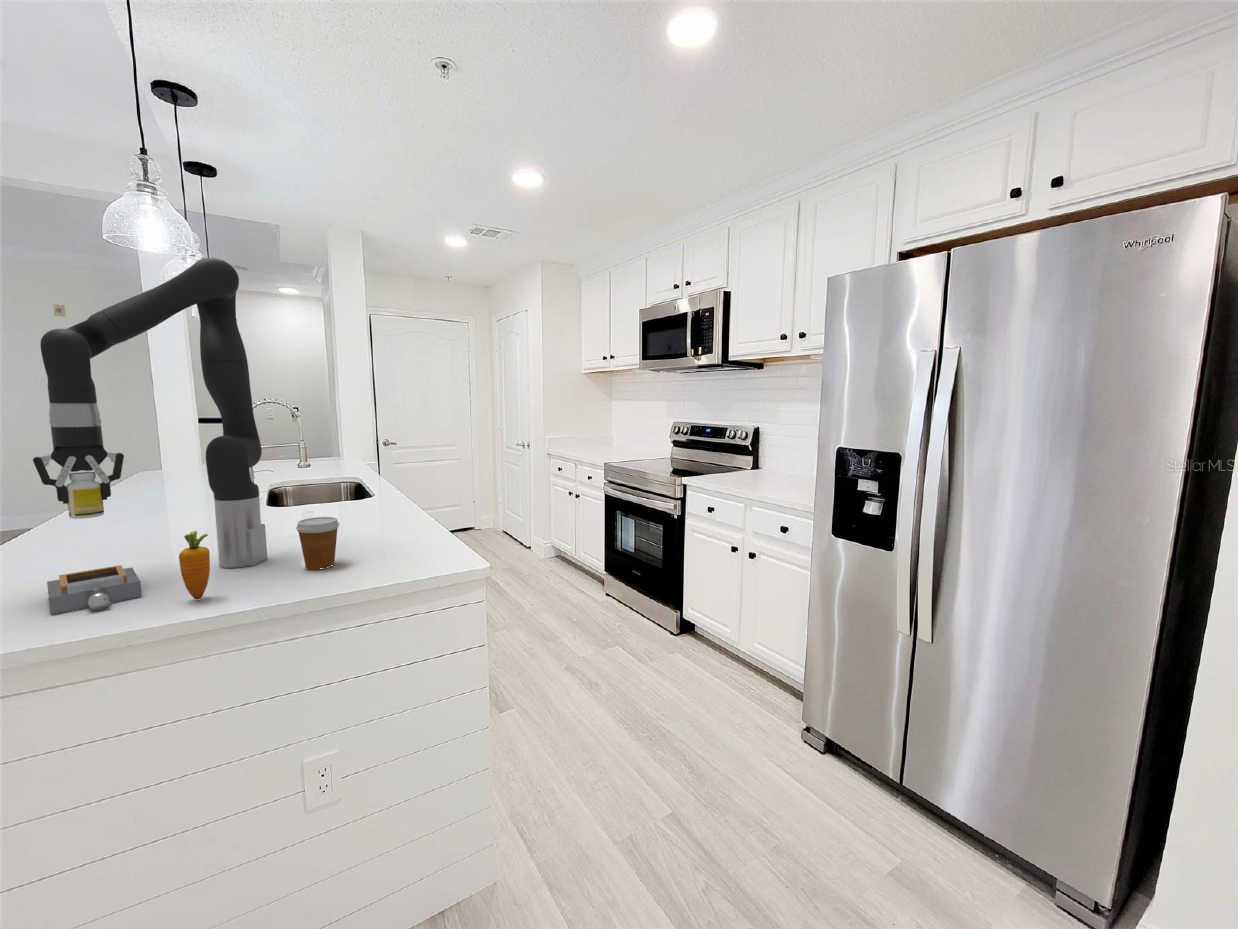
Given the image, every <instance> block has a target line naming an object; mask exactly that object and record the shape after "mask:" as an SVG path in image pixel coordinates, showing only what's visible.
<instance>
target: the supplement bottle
mask: <svg viewBox="0 0 1238 929" xmlns="http://www.w3.org/2000/svg"><path fill="white" fill-rule="evenodd" d="M68 477H69V481H70V482H69V483H68V484H67V485H65V486H66V493H67V501H68V504H67V510H68V517H69V519H73V520H80V519H83V520H84V519H91V518H99V517H102V516H104V514H105V509H104V500H103V497H102V488H101V482H99V481H95V479H96V478H97V474H96V473H95V471H77V472H70V473H69V475H68Z"/></svg>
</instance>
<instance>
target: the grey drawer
mask: <svg viewBox="0 0 1238 929" xmlns="http://www.w3.org/2000/svg"><path fill="white" fill-rule="evenodd" d="M46 586H47V593H48V595H47V596H48V604H49V611H50V612H49V614H50V616H54V615H58V614H59V613H60V614H63V613H68V611H70V612H73V611H72V610H75V611H77V610H76V609H80V610H83V609H84V610H85V609H88V608H89V609H91V610H93V611H102V610H105V609H106V608H107V607H108V606H109V605H110V604H111V603H110V602H114V603H118V602H117V601H119V602H123V601H122V600H124V601H126V600H125V599H129V600H133V598H134V599H137V598H136V597H139V598H142V597H143V596H142V595H143V594H142V585H141V580H140V578H139V577H138V575H137V573H136V571H135V569H134V568H133V567H126V568H124V567H123V565H121V564H120V565H114V566H107V567H102V568H95V569H89V570H83V571H77V572H70V573H65V574H58V579H54V580H49V581H46ZM141 596H142V597H141Z"/></svg>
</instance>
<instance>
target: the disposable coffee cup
mask: <svg viewBox="0 0 1238 929" xmlns="http://www.w3.org/2000/svg"><path fill="white" fill-rule="evenodd" d="M339 526H340V522H339V520H338V518H337V517H333V516H318V517H310V518H304V519H301V520H299V521H297V526H295V529H296V531H297V532H298V535H299V541H300V545H301V550H302V551H301V552H302V556H303V560H304V565H305V569H306V568H307V569H306V570H308V569H311V570H310V571H313V570H312V569H320V568H327V567H329V566H331V565H334V566H335V561H336V560H335V559H336V547H337V541H338V540H337V539H338V528H339ZM327 569H328V568H327Z"/></svg>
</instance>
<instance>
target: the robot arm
mask: <svg viewBox="0 0 1238 929" xmlns="http://www.w3.org/2000/svg"><path fill="white" fill-rule="evenodd" d="M239 287H240V279H239V274H238V272H237V270H236V269H235V268H234V267H233V266H232V264H230V263H229V262H227V261H225V260H223V259H220V258H216V257H205V258H204V257H203V258H201V259H198V260H197V261H196V262H194V263H193V264H192V265H190V266H189V267H187V268H186V269H185V270H183V271H182V272H180V273H179V274H177V275H176V276H174V277H172V278H170V279H169V280H167V281H165V282H163V283H161V284H159V285H157V286H155V287H153V288H151V289H149V290H146V291H143V292H142V293H140V294H136V295H134V296H131V297H129V298H127V299H124V300H122V301H120V302H117V303H115V304H113V305H110V306H108V307H106V308H103V309H101V310H99V311H97V312H95V313H94V314H91V315H90V316H89V317H88V318H87V319H86V320H84V321H81V322H79V323H76V324H74V325H72V326H70V327H67V328H55V329H51V330H49V331H46V332H45V333H44V334H43V336H42V337H41V339H40V345H39V347H40V351H41V357H42V363H43V365H44V369H45V373H46V374H45V375H46V377H47V391H48V400H49V402H48V403H49V411H48V412H49V414H48V416H49V425H50V433H51V440H52V447H53V448H52V449H53V450H52V452H51V453H50V454H49V455H41V456H34V457H33V459H32V462H33V463H34V464H33V465H34V467H35V469H36V472H37V473H38V476H39V478H40V480H41V483H42V484H43V485H45V486H53V487H55V488H56V495H57V501H58V502H62V503H63V505H66V504H67V505H68V501H67V493H66V486H67V485H65V483H66V481H67V479H68V477H69V474H70V473H77V472H82V471H83V472H95V474H96V476H98V478H99V479H100V481H101V482H100V484H101V488H102V497H103V501H108V498H110V497H112V496H111V495H112V492H111V491H112V490H111V483H112V482H114V481H117V480H120V479H121V477H122V476H121V475H122V470H123V465H124V458H125V455H124V454H123V453H122V452H108V451H107V450H106V449H105V447H104V439H103V431H102V419H101V414H100V410H99V406H98V401H97V400H98V398H97V392H96V386H95V382H94V380H93V378H92V368H91V359H92V358H95V357H97V356H98V355H100V354H101V353H104V352H105V351H107V350H109V349H111V348H112V347H114V346H115V345H119V344H121V343H124V342H126V341H128V340H130V339H133V338H135V337H137V336H139V335H142V334H143V333H146V332H147V331H149V330H151V329H153V328H155V327H157V326H158V325H160V324H161V323H163V322H164V321H167V320H168V319H170V318H172V316H175V315H176V314H178V313H180V312H181V311H183V310H184V311H185V309H187V308H190V307H192V306H194V305H195V306H196V307H197V312H198V316H199V326H200V328H199V330H200V331H199V335H200V336H199V347H200V348H199V352H200V353H199V354H200V363H201V372H202V377H203V381H204V385H205V387H206V390H207V391H208V393H209V395H210V396H211V399H212V400H213V402H214V404H215V405H216V407H217V409H218V411H219V416H220V417H221V423H222V435H221V436H216V437H215V438H213V439H211V440H210V442H209V443H208V444H207V447H206V449H205V466H206V472H207V480H208V485H209V488H210V490H211V491H212V494H213V498H214V512H215V525H216V527H215V528H216V539H217V540H216V541H217V552H218V563H219V564H218V565H219V567H220V568H225V569H236V568H243V567H252V566H253V567H254V566H256V565H258V564H260V563H262V562H263V561H266V560H267V559H268V549H267V548H268V547H267V533H266V525H265V524H264V523H262V519H261V503H260V502H261V501H260V500H261V499H260V488H259V486H258V484H256V483H254V481H252V478H251V477H252V476H251V471H250V470H251V468H253V467H255V466H256V465H257V464H258V463H259V462H260V460H261V457H262V454H263V453H262V452H263V451H262V450H263V449H262V444H261V440H260V437H259V432H258V428H257V425H256V424H257V423H256V420H255V415H254V409H253V408H254V407H253V400H252V399H253V398H252V397H253V396H252V391H251V378H250V371H249V370H250V369H249V363H248V357H247V352H246V347H245V345H244V341H243V339H242V335H241V333H240V331H239V327H238V321H237V307H236V306H237V304H236V303H237V302H236V299H237V291H238V289H239ZM106 458H109V461H110V462H111V463H113V466H112V467H113V468H112V474H110V475H106V473H105V471H104V470H103V469H102V468H101V466H100V465H101V464H102V463H103V461H105V459H106ZM51 460H53V461H54V463H57V464H58V465H59V466H60V467H61V470H60V472H59V474H58V476H57V478H56V479H55V478H51V477H50V475H49V472H48V470H47V468H46V467H48V466H49V465H50V461H51Z"/></svg>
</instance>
